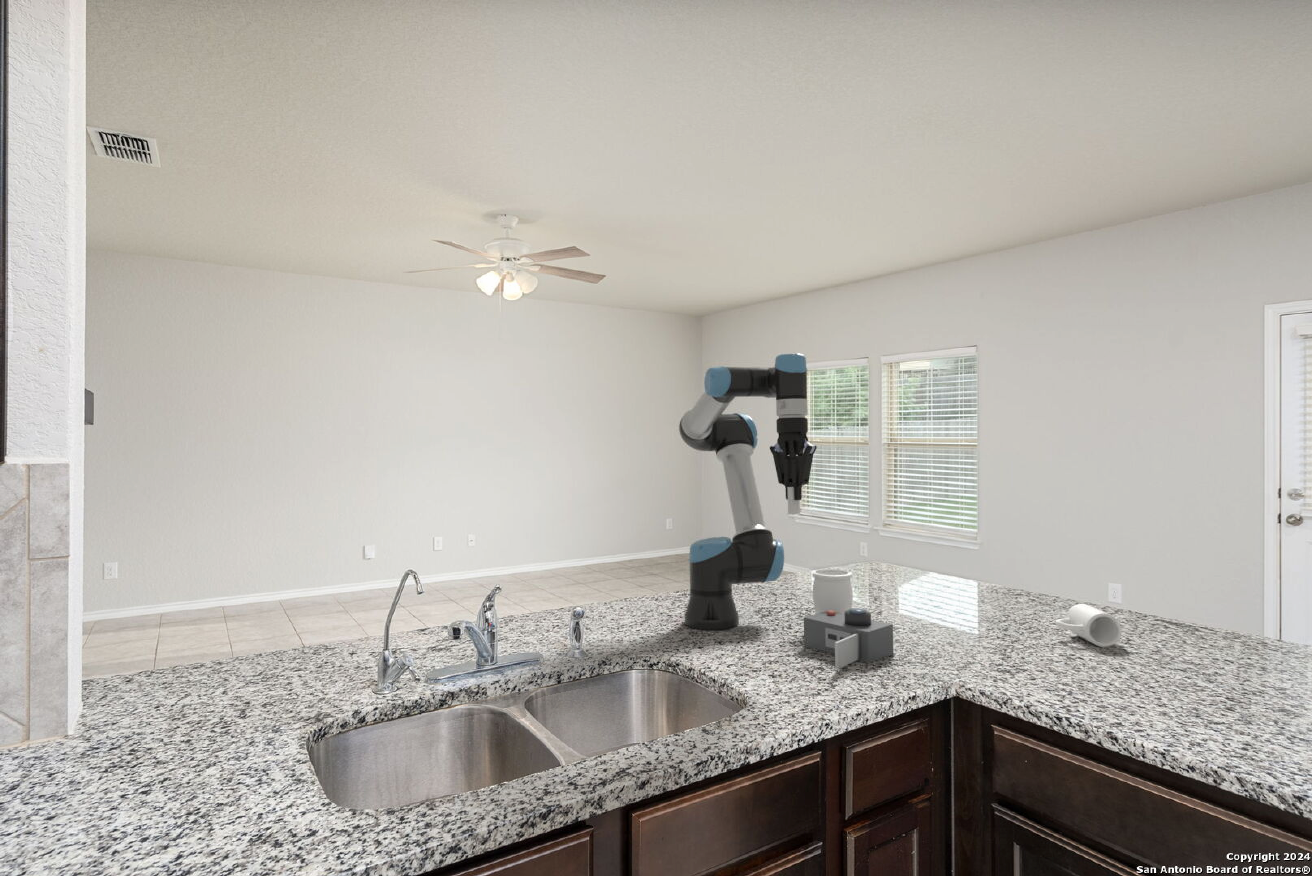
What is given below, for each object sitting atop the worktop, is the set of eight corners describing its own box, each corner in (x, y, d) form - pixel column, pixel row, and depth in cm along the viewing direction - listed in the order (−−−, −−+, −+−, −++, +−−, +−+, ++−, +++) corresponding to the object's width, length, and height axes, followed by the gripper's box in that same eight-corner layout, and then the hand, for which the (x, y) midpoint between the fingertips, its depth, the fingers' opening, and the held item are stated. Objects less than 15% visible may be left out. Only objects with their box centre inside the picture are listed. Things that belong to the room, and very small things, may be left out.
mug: (1099, 635, 168) (1098, 603, 169) (1122, 647, 158) (1121, 613, 159) (1048, 635, 170) (1047, 603, 170) (1069, 646, 160) (1068, 613, 160)
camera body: (803, 646, 164) (802, 605, 164) (829, 638, 170) (828, 598, 170) (868, 663, 150) (867, 618, 150) (893, 654, 156) (892, 611, 156)
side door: (838, 669, 144) (837, 643, 145) (834, 668, 145) (834, 642, 145) (860, 658, 151) (859, 633, 151) (856, 657, 152) (855, 633, 152)
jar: (858, 633, 174) (856, 575, 174) (818, 634, 174) (816, 576, 174) (847, 623, 184) (846, 568, 185) (809, 623, 185) (808, 568, 185)
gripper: (761, 418, 167) (763, 513, 167) (803, 415, 157) (805, 516, 157) (781, 418, 172) (783, 510, 172) (823, 416, 162) (825, 514, 161)
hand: (794, 513), depth 164 cm, fingers closed
